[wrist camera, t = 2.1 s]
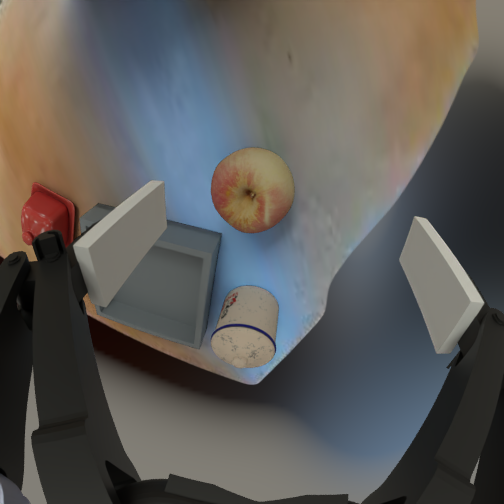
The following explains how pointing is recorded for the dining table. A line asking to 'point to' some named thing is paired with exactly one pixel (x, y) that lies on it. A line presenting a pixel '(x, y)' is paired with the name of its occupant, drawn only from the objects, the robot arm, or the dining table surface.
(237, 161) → the apple
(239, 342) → the teacup with lid
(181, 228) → the bin
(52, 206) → the butter dish
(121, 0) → the dining table surface
